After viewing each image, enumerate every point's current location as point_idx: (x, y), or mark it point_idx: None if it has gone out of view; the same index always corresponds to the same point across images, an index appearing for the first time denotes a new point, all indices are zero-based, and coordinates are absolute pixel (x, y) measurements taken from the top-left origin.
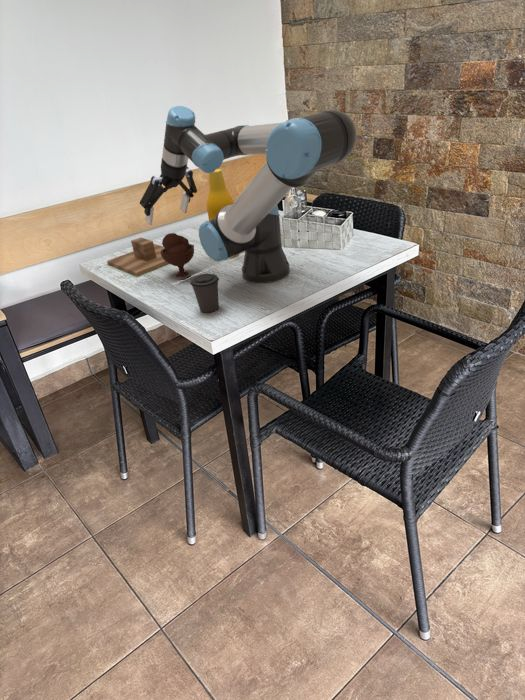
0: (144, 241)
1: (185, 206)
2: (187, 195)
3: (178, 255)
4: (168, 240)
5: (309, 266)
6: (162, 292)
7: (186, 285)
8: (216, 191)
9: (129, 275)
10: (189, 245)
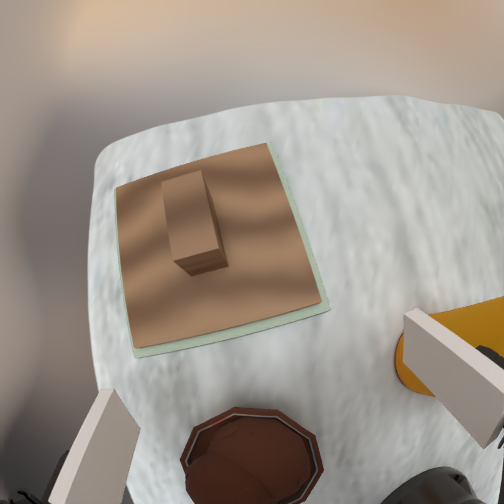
0: (192, 225)
1: (433, 389)
2: (502, 425)
3: None
4: None
5: None
6: (173, 477)
7: None
8: None
9: (127, 318)
10: (312, 453)
